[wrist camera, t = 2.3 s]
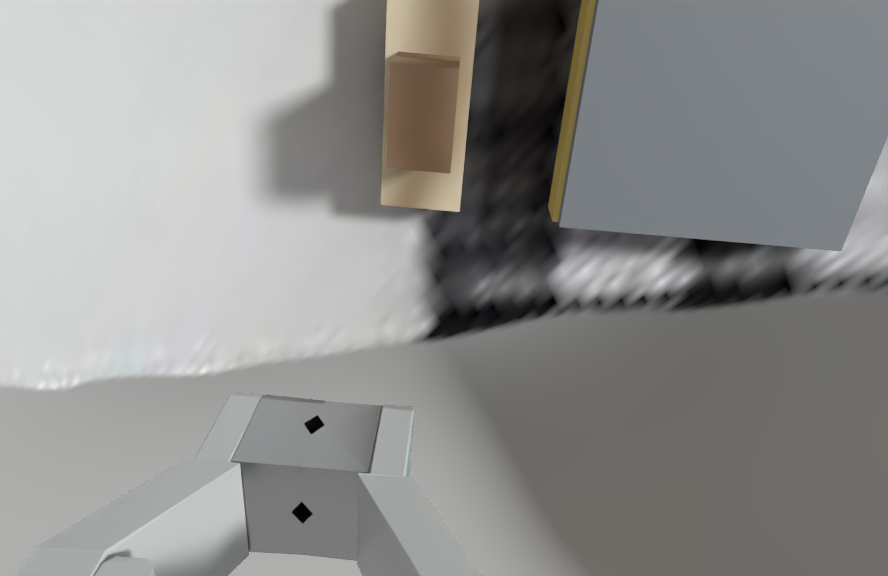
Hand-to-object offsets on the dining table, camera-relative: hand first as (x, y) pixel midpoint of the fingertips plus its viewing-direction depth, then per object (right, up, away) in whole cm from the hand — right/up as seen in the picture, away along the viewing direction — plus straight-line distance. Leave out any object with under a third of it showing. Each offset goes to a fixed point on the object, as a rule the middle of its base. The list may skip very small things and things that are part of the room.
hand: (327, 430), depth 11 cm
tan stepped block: (+1, +14, +26) cm, 29 cm away
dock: (+17, +13, +26) cm, 33 cm away
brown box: (+1, +12, +23) cm, 26 cm away
